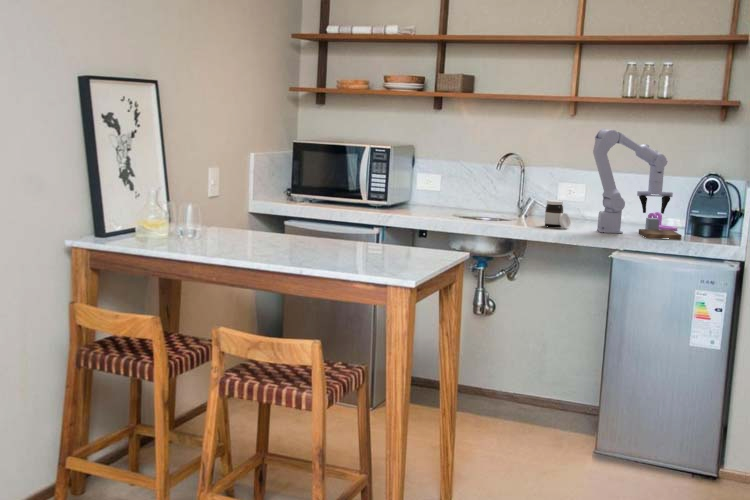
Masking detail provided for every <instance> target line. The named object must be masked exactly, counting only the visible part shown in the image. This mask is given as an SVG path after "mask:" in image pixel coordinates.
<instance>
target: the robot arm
mask: <svg viewBox="0 0 750 500" xmlns="http://www.w3.org/2000/svg"><path fill="white" fill-rule="evenodd" d="M616 144H621V145H623V146H624V147H626V148H628V149H630V150H631V151H633V152H635V153H634V154H635V156H636V157H638V158H639V159H641V160H642V161H644V162H646V163H648V165H649V178H648V179H649V180H648V190H647V191H646V190H644V191H643V190H641V191H640V190H638V191H637V192H636V193H637V194H636V195H637V197H638V198H639V201H640V202H641V203H640V204H641V206H642V207H641V208H642V213H643V214H646V213H647V202H648V197H661V208H660V213H661V214H662V215H663V214H665V211H666V207H667V205H668V204H669V202H670V201H671V198H673V195H674V193H673V192H670V191H667V192H666V191H663V184H664V174H665V168H666V166H667V164H668V159H667V157H666V155H664V154H663V153H662V154H661V153H659V151H658V150H655V149H653V148H651V147H650V145H649V144H643V143H642V144H638V142H635V141H634V140H633V139H631V138H630V137H629V136H626V134H623V133H622V132H619V131H617V130H615V129H606V128H602V129H600V130H598V131H597V134H596V135H595V136H594V146H593V150H592V151H593V152H592V154H593V157H594V160H595V165H596V168H597V171H598V174H599V178H600V181H601V185H602V189H603V191H602V206H603V207H604V210H603V211H602V210H599V212H598V217H597V228H596V229H597V231H598V232H599V233H603V232H604V233H607V234H608V233H609V234H623V233H624V232H623V231H622V230H621V227H622V213H623V210H624V209H625V207H626V201H625V199H624V198H623V197H622V194H621V192H620V191H619V190H618V188H617V185H616V182H615V179H614V174H613V171H612V168H611V164H610V160H609V157H608V152H609V151H610V149H612V148H613V146H615V145H616Z"/></svg>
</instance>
